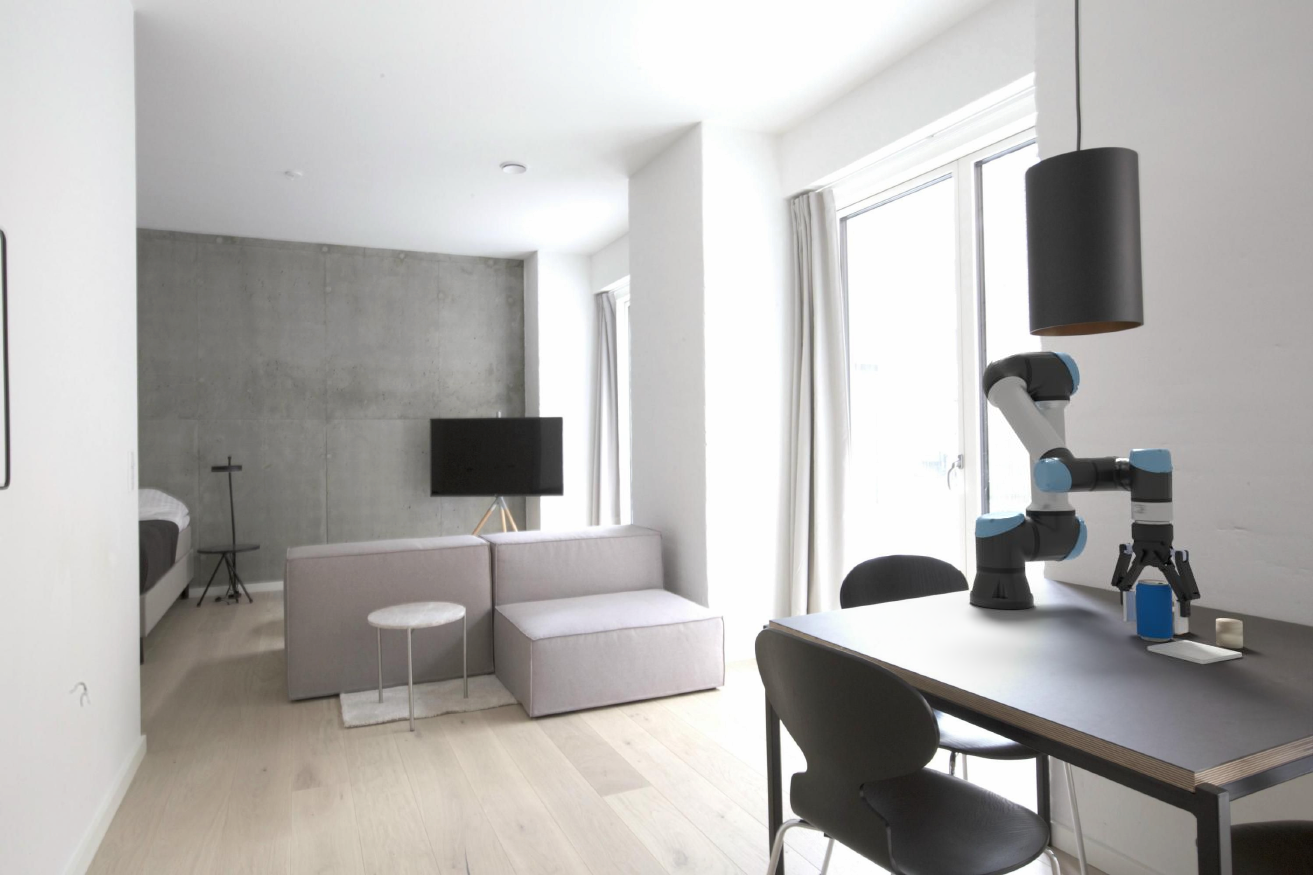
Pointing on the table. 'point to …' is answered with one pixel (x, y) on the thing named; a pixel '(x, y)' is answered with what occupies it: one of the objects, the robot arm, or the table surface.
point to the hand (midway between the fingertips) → (1154, 626)
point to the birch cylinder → (1229, 633)
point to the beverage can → (1154, 610)
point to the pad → (1194, 651)
